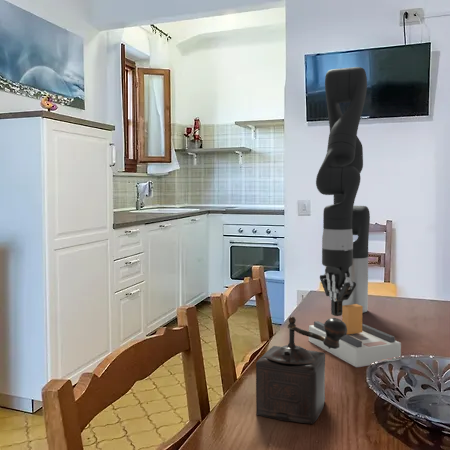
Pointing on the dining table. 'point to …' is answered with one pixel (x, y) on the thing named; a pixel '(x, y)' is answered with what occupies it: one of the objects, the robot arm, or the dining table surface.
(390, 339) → the pair of grey rails
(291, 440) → the dining table surface
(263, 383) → the manual coffee grinder
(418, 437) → the dining table surface
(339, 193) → the robot arm
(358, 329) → the block
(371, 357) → the breaker panel
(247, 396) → the dining table surface
